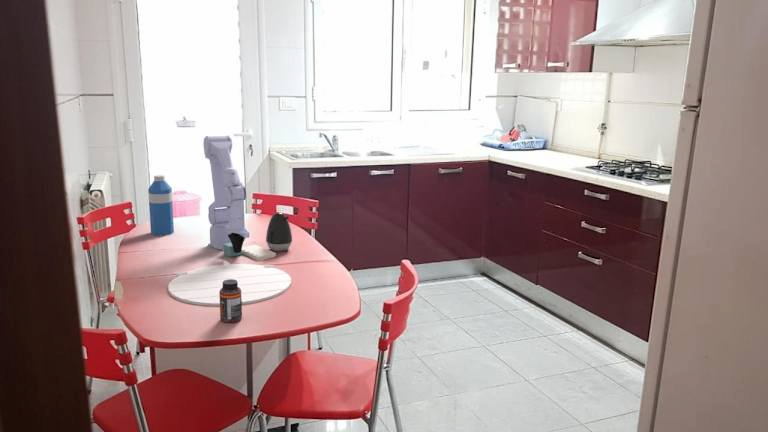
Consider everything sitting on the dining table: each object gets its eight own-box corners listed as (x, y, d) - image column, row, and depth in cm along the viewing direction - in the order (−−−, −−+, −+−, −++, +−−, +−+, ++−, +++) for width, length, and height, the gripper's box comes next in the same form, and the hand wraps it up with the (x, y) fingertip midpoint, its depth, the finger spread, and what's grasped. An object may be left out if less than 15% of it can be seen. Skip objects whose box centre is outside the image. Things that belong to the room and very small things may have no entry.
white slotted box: (237, 251, 235) (237, 247, 234) (255, 248, 240) (255, 244, 240) (257, 260, 224) (257, 256, 224) (275, 256, 229) (275, 252, 229)
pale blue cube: (223, 253, 230) (223, 243, 230) (235, 251, 234) (234, 241, 233) (230, 256, 227) (229, 246, 226) (241, 254, 230) (241, 244, 229)
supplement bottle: (217, 317, 170) (216, 279, 167) (238, 313, 173) (237, 276, 171) (224, 325, 165) (222, 286, 163) (245, 321, 168) (244, 282, 166)
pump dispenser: (279, 254, 232) (278, 216, 228) (260, 249, 238) (260, 212, 235) (297, 249, 240) (297, 212, 236) (279, 244, 246) (279, 208, 243)
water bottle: (150, 231, 262) (146, 174, 256) (172, 229, 266) (169, 173, 260) (151, 236, 253) (148, 178, 248) (175, 234, 257) (172, 177, 252)
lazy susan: (166, 271, 210) (166, 262, 209) (278, 262, 223) (278, 253, 223) (170, 313, 173) (169, 302, 173) (303, 299, 187) (303, 288, 186)
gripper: (217, 215, 227) (218, 250, 230) (236, 222, 216) (237, 258, 219) (234, 212, 231) (235, 246, 234) (253, 219, 221) (254, 255, 224)
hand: (237, 252), depth 227 cm, fingers closed
